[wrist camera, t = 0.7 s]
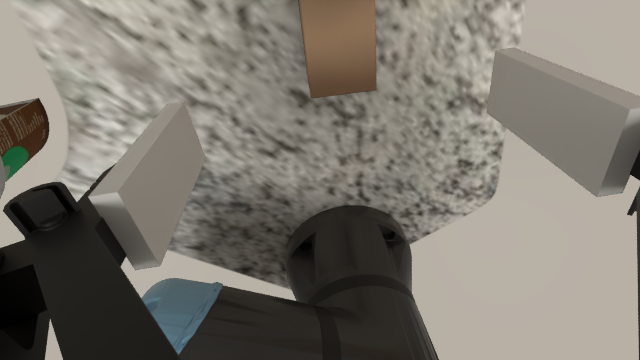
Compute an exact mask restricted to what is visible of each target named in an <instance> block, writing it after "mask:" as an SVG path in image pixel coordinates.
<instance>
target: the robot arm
mask: <svg viewBox="0 0 640 360" xmlns="http://www.w3.org/2000/svg"><path fill="white" fill-rule="evenodd" d="M487 113H488V114H489V115H490V116H492V117H493V118H494V119H496V120H497V121H498V122H500V123H501V124H502V125H503V126H505V127H506V128H507V129H509V130H510V131H511V132H513V133H514V134H515V135H516V136H518V137H519V138H520V139H522V140H523V141H524V142H526V143H527V144H528V145H530V146H531V147H532V148H533V149H535V150H536V151H537V152H539V153H540V154H541V155H542V156H544V157H545V158H546V159H548V160H549V161H550V162H552V163H553V164H554V165H555V166H557V167H558V168H560V169H561V170H562V171H563V172H565V173H566V174H567V175H568V176H570V177H571V178H572V179H574V180H575V181H576V182H578V183H579V184H580V185H582V186H583V187H584V188H585V189H587V190H588V191H589V192H591V193H592V194H593V195H595V196H596V197H601V196H606V195H613V194H619V193H623V191H624V188H625V186H626V184H627V182H628V179H629V177H630V175H632V176H634V177H635V178H637V179H638V180H640V96H638V95H635V94H633V93H630V92H628V91H625V90H622V89H620V88H617V87H614V86H612V85H609V84H607V83H604V82H601V81H599V80H596V79H594V78H591V77H589V76H586V75H583V74H581V73H578V72H576V71H573V70H571V69H568V68H565V67H563V66H560V65H557V64H555V63H552V62H550V61H547V60H545V59H542V58H540V57H537V56H534V55H532V54H529V53H527V52H524V51H521V50H519V49H516V48H508V49H502V50H496V51H495V57H494V65H493V72H492V79H491V86H490V94H489V101H488V108H487ZM205 159H206V158H205V155H204V152H203V150H202V147H201V144H200V142H199V139H198V136H197V134H196V131H195V128H194V126H193V123H192V120H191V118H190V115H189V112H188V110H187V107H186V105H185V102H180V103H173V104H167V105H166V106H165V107H164V108H163V109H162V111H161V112H160V113H159V114H158V115H157V116H156V118H155V119H154V120H153V121H152V122H151V123H150V125H149V126H148V127H147V128H146V129H145V130H144V132H143V133H142V134H141V135H140V136H139V138H138V139H137V140H136V141H135V142H134V143H133V145H132V146H131V147H130V148H129V149H128V150H127V152H126V153H125V154H124V155H123V156H122V157H121V159H120V160H119V161H118V162H117V163H116V164H115V165H113V166H112V167H110V168H109V169H107V170H106V171H104V172H103V173H102V175H101V176H100V177H99V178H98V179H97V180H96V182H95V183H94V184H93V185H92V186H91V187H90V190H87V192H86V193H85V194H84V195H83V196H82V197H81V198H80V200H79V201H78V202H76V200H75V199H74V198H73V196H72V195H71V193H70V192H69V190H68V189H67V187H66V186H65V184H63V183H61V182H51V183H47V184H42V185H40V186H37V187H34V188H31V189H29V190H27V191H25V192H23V193H21V194H19V195H18V196H16V197H14V198H13V199H12V200H10V201H9V202H8V203H7V204H6V205H5V207H4V210H3V212H4V213H5V214H6V215H7V216H8V218H9V219H10V220H11V221H12V222H13V223H14V225H15V226H16V227H17V228H18V229H19V231H20V232H21V233H22V234H23V235H24V237H25V240H23V241H20V242H17V243H14V244H11V245H8V246H5V247H2V248H0V360H45V353H46V345H47V337H48V329H49V321H50V319H51V322H52V325H53V328H54V332H55V335H56V338H57V341H58V344H59V347H60V351H61V354H62V357H63V360H439V359H438V356H437V354H436V351H435V349H434V347H433V344H432V342H431V339H430V337H429V335H428V332H427V330H426V327H425V325H424V323H423V320H422V317H421V315H420V313H419V310H418V308H417V305H416V303H415V300H414V298H413V295H412V263H411V262H412V256H411V250H410V246H409V243H408V241H407V239H406V236H405V234H404V232H403V230H402V228H401V227H400V225H399V224H398V223H397V222H396V221H395V220H394V219H393V218H391V217H390V216H388V215H387V214H385V213H383V212H381V211H378V210H376V209H372V208H368V207H360V206H346V207H339V208H334V209H330V210H327V211H324V212H322V213H320V214H317V215H315V216H314V217H312V218H310V219H309V220H307V221H306V222H305V223H303V224H302V225H301V226H300V227H299V228H298V229H297V230H296V231H295V233H294V234H293V235H292V237H291V239H290V241H289V243H288V246H287V249H286V275H287V279H288V282H289V285H290V287H291V289H292V291H293V294H294V296H295V298H296V301H293V300H289V299H284V298H279V297H274V296H270V295H265V294H260V293H255V292H251V291H246V290H241V289H237V288H232V287H227V286H223V284H221V283H218V282H216V283H213V284H210V283H204V282H198V281H191V280H185V279H179V278H170V279H165V280H162V281H160V282H158V283H156V284H155V285H154V286H152V287H151V288H150V289H149V290H148V291H147V292H146V293H145V294H144V296H143V297H142V298H141V297H140V296H139V294H138V293H137V292H136V290H135V288H134V287H133V285H132V284H131V282H130V281H129V279H128V278H127V276H126V275H125V273H124V272H123V270H122V269H121V267H120V266H121V265H122V263H123V261H124V259H125V257H127V258H128V260H129V261H130V263H131V264H132V266H133V268H134V269H135V270H139V269H145V268H152V267H158V266H160V265H161V262H162V261H163V258H164V256H165V253H166V251H167V249H168V246H169V244H170V242H171V239H172V237H173V235H174V232H175V230H176V227H177V225H178V223H179V220H180V218H181V216H182V213H183V211H184V209H185V206H186V204H187V201H188V199H189V197H190V194H191V192H192V190H193V187H194V185H195V182H196V180H197V178H198V175H199V173H200V171H201V168H202V166H203V164H204V161H205ZM635 211H637V256H638V257H637V258H638V319H639V320H638V321H639V360H640V187H639V190H638V192H637V194H636V196H635V199H634V200H633V203H632V205H631V207H630V209H629V211H628V213H627V215H633V213H634V212H635Z"/></svg>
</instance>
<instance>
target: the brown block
mask: <svg viewBox="0 0 640 360" xmlns="http://www.w3.org/2000/svg"><path fill="white" fill-rule="evenodd" d="M298 1H299V10H300V18H301V26H302V35H303V43H304V51H305V60H306V68H307V76H308V83H309V88H310V93H311V98H319V97H327V96H334V95H342V94H350V93H358V92H366V91H374V90H376V29H375V0H298Z"/></svg>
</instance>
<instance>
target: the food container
mask: <svg viewBox="0 0 640 360" xmlns="http://www.w3.org/2000/svg"><path fill="white" fill-rule="evenodd" d="M48 135H49V122H48V117H47V114H46V111H45V109H44V106H43V105H42V103H41V101H40V99H39V98H37V99H32V100H27V101H22V102H18V103H13V104H8V105H3V106H0V198H1V196H2V193H3V191H4V187H5V182H6V181H7V180H8V179H9V178H10V177H12V176H13V175H14V174H15V173H16V172H17V171H18V170H19V169H20V168H21V167H22V166H23V165H25V163H27V162H28V161H29V160H30V159H31V158H32V157H33V156H34V155H35V154H36V153H38V152H39V150H41V149H42V148H43V146H44V145H45V143H46V141H47V139H48Z"/></svg>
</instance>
